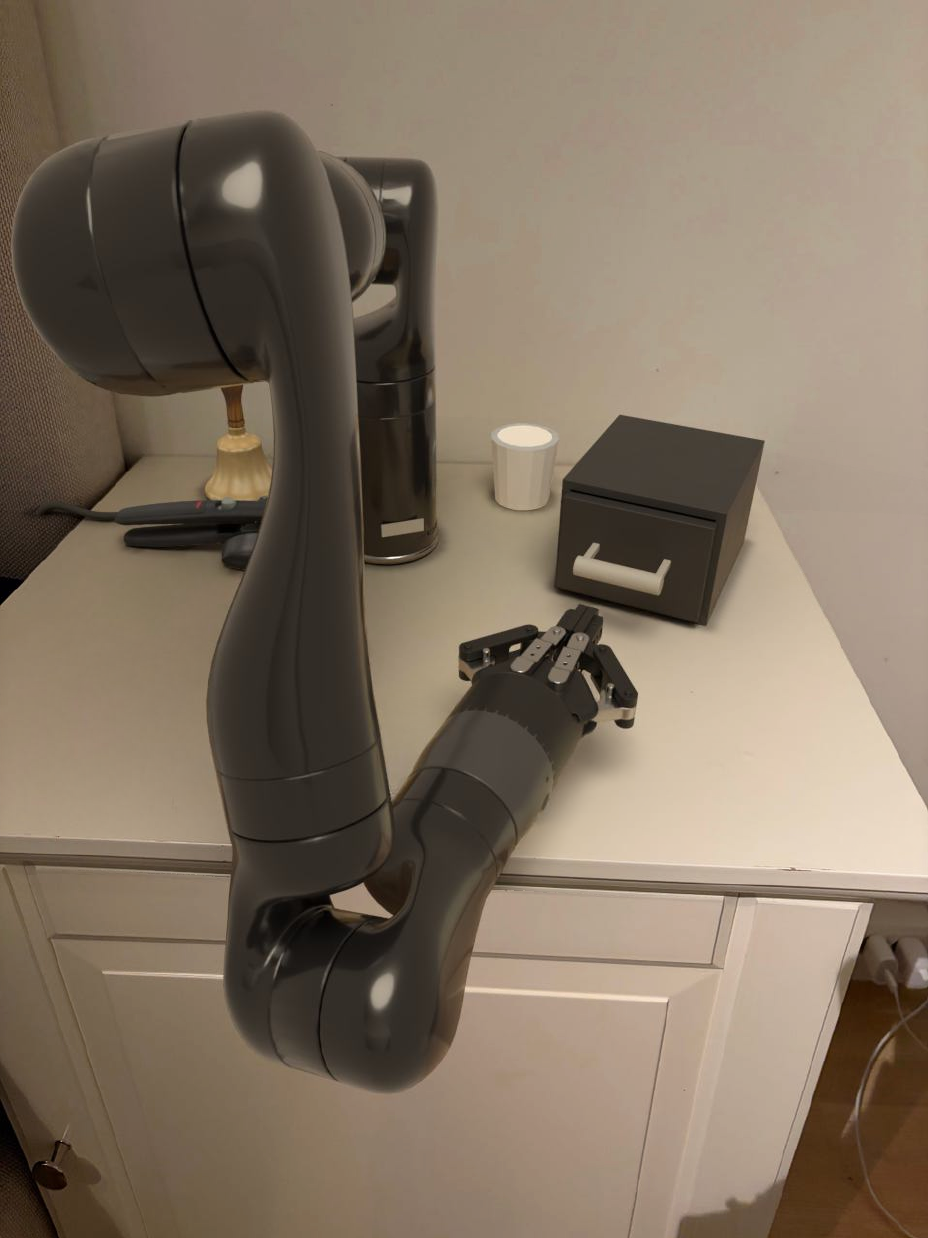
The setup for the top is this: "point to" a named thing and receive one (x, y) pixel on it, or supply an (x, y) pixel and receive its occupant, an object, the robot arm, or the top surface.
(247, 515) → the can opener
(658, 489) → the single drawer cabinet
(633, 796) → the top surface
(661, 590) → the cabinet drawer
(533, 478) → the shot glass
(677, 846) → the top surface
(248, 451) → the hand bell
